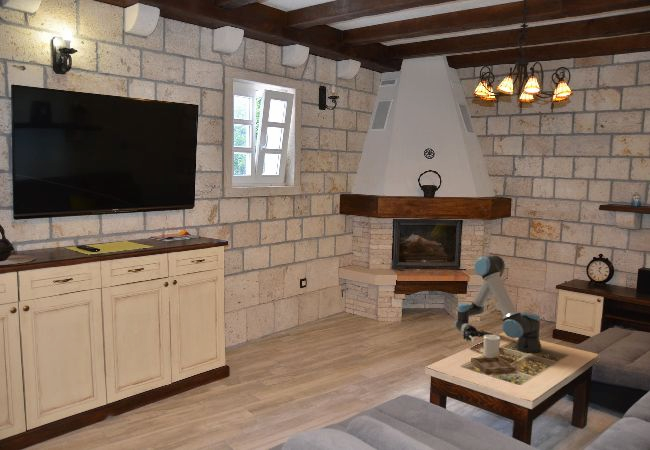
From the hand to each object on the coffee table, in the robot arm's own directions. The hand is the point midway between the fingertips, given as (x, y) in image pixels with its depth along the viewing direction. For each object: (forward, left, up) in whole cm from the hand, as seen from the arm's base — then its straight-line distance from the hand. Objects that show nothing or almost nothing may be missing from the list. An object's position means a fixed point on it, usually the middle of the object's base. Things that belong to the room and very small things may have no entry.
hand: (484, 340), depth 329 cm
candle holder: (0, +9, -7) cm, 11 cm away
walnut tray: (+8, +26, -7) cm, 28 cm away
